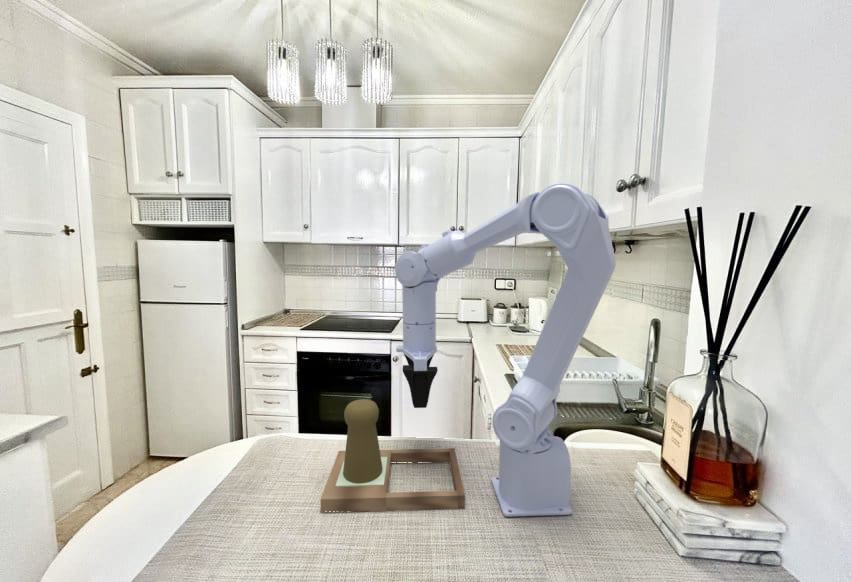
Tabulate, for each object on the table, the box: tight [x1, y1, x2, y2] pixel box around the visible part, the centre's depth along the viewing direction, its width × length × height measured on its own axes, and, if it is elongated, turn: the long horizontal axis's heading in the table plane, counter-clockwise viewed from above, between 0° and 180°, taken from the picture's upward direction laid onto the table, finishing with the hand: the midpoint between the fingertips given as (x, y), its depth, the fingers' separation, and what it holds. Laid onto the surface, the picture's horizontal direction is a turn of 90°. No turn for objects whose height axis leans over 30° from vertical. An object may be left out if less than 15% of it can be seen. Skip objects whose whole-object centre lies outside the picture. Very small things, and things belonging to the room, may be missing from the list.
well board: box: [319, 447, 466, 513], centre depth 54 cm, size 20×12×2 cm, turn 92°
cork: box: [343, 398, 383, 484], centre depth 53 cm, size 6×6×11 cm
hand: (419, 397), depth 61 cm, fingers open, 7 cm apart
